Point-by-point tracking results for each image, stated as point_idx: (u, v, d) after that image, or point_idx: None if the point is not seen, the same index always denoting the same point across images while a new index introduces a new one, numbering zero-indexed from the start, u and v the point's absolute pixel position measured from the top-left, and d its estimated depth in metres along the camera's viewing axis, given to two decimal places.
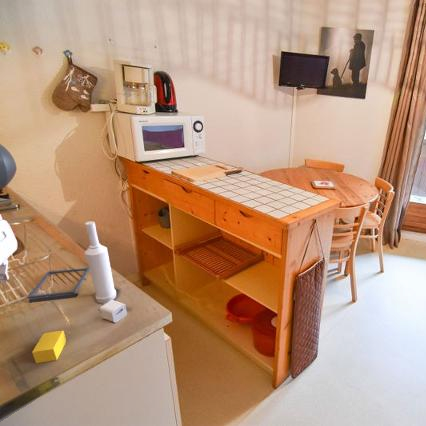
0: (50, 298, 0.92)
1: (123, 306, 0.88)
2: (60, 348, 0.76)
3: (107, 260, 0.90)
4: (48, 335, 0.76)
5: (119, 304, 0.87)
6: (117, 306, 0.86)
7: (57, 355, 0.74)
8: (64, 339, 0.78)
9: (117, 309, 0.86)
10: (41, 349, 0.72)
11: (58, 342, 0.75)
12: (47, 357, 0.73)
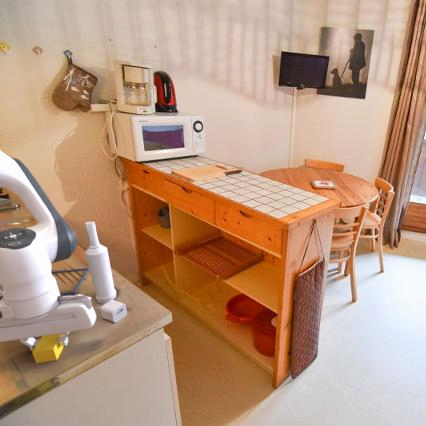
0: None
1: (123, 306, 0.88)
2: (60, 348, 0.76)
3: (107, 260, 0.90)
4: (48, 335, 0.76)
5: (119, 304, 0.87)
6: (117, 306, 0.86)
7: (57, 355, 0.74)
8: None
9: (117, 309, 0.86)
10: (41, 349, 0.72)
11: None
12: (47, 357, 0.73)
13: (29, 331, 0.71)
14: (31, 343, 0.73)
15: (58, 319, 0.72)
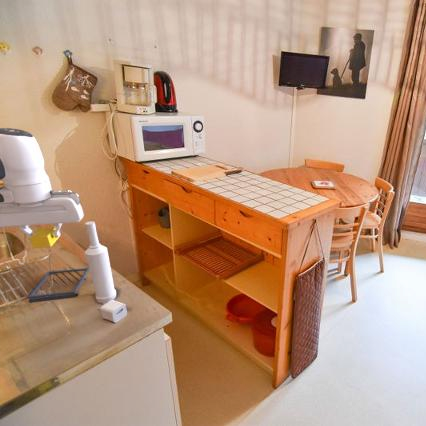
0: (50, 298, 0.92)
1: (123, 306, 0.88)
2: (53, 239, 0.90)
3: (107, 260, 0.90)
4: (43, 229, 0.90)
5: (119, 304, 0.87)
6: (117, 306, 0.86)
7: (51, 243, 0.88)
8: None
9: (117, 309, 0.86)
10: (37, 236, 0.86)
11: None
12: (42, 243, 0.87)
13: (27, 219, 0.85)
14: (28, 232, 0.87)
15: (51, 210, 0.86)
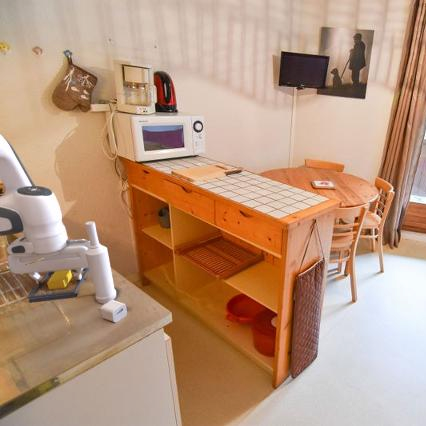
0: (50, 298, 0.92)
1: (123, 306, 0.88)
2: (68, 282, 0.98)
3: (107, 260, 0.90)
4: (59, 272, 0.98)
5: (119, 304, 0.87)
6: (117, 306, 0.86)
7: None
8: (71, 277, 1.00)
9: (117, 309, 0.86)
10: (54, 281, 0.94)
11: (66, 277, 0.97)
12: (58, 287, 0.95)
13: (44, 266, 0.92)
14: (37, 278, 0.94)
15: (67, 257, 0.94)
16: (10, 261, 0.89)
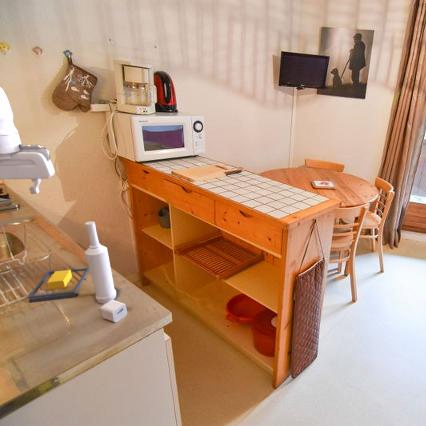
0: (50, 298, 0.92)
1: (123, 306, 0.88)
2: (68, 282, 0.98)
3: (107, 260, 0.90)
4: (59, 272, 0.98)
5: (120, 304, 0.87)
6: (117, 306, 0.86)
7: None
8: (71, 277, 1.00)
9: (117, 309, 0.86)
10: (54, 281, 0.94)
11: (66, 277, 0.97)
12: (58, 287, 0.95)
13: None
14: None
15: (20, 164, 0.85)
16: None
